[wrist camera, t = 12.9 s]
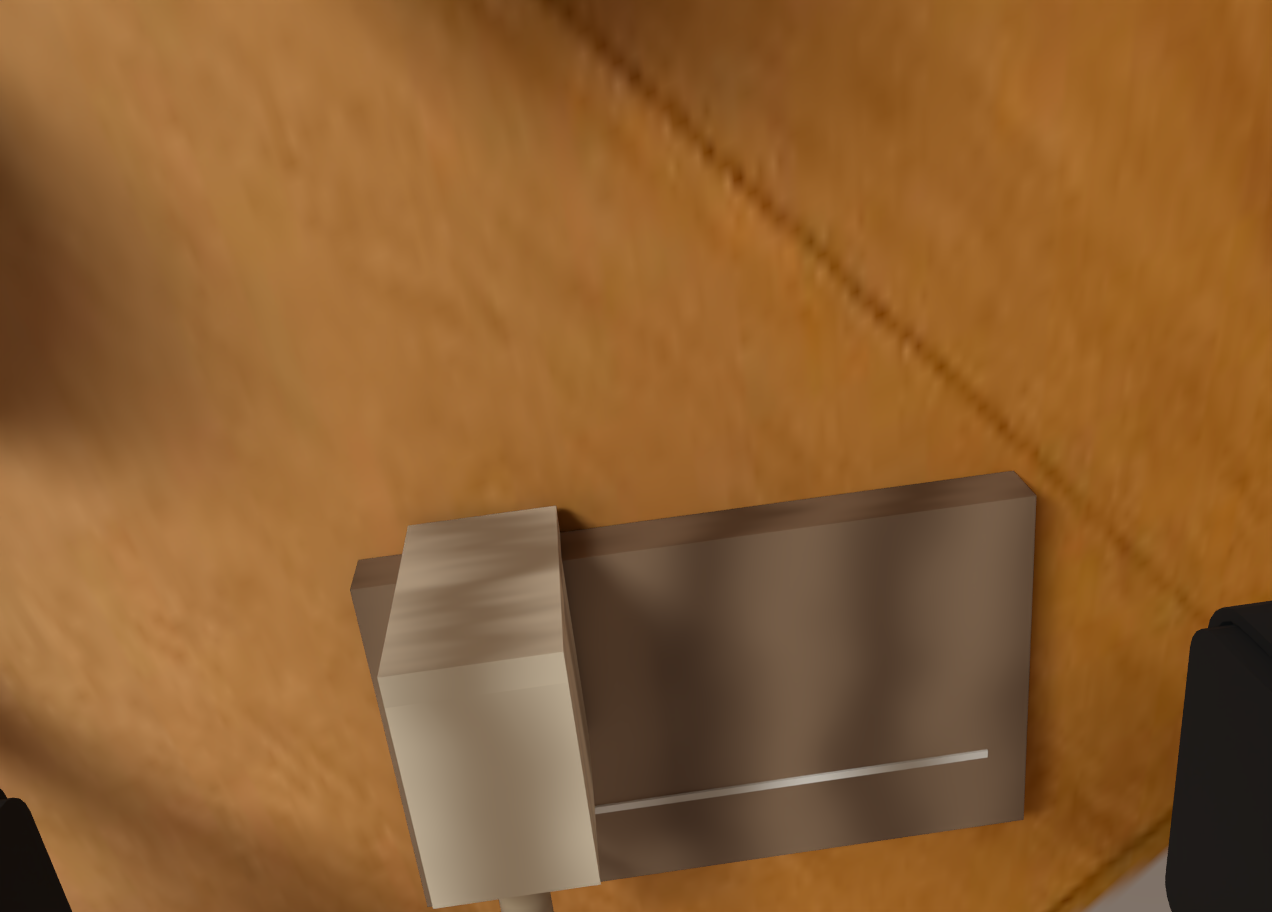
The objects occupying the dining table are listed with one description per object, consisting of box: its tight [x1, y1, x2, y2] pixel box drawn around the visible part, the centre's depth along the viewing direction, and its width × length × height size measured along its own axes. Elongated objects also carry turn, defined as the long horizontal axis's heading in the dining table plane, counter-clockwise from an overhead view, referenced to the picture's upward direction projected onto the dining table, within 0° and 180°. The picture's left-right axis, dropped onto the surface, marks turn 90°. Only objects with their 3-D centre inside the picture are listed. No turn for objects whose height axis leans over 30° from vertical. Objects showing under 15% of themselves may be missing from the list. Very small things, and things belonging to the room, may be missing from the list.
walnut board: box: [350, 471, 1036, 907], centre depth 42 cm, size 23×14×2 cm, turn 96°
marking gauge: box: [377, 506, 601, 912], centre depth 38 cm, size 5×13×9 cm, turn 6°
